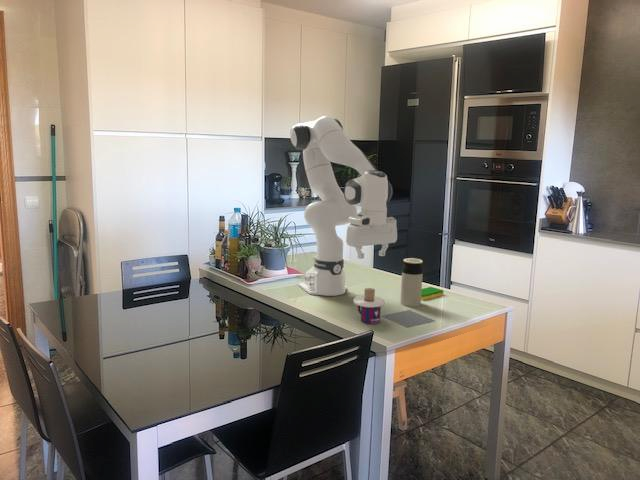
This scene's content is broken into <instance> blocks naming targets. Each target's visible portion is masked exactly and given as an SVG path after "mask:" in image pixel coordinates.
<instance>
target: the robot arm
mask: <svg viewBox="0 0 640 480" xmlns="http://www.w3.org/2000/svg"><path fill="white" fill-rule="evenodd" d="M289 135H290V142H291V144H292V146H293V147H294V148H295V149H296V150H298V151H299V150H302V159H303V165H304V170H305V174H306V177H307V178H306V179H307V182H308V184H309V187H310V190H311V192H312V193H314V195H316V196H318V197H319V198H320V200H318V201H317V200H316V201H314V202H311V203H309V204H308V205H307V206H306V207H305V210H304V213H303V215H304V217H303V218H304V221H305V223H306V224H307V225H308V226H310V228H311V229H312V231H313V233H314V236H315V239H316V240H315V241H316V242H315V243H316V258H313V262H314V263H313V266H312V267H311V268H310V269H308V270H307V271H306V272H305V274H304V279H303V281H301V282H298V286H299V287H300V288H301V289H302V290H304V291H305V292H306V293H308V294H309V295H319V296H328V297H330V296H333V297H334V296H341V295H344V294H345V293H346V290H348V286H347V285H346V272H345V270H344V269H343V268H344V264H345V262H344V258H343V257H344V240H343V239H342V238H341V237H340V236H338V234H337V230H336V227H338V226H345V225H347V224H348V225H347V228H346V239H345V240H346V241H345V242H346V245H348V246H349V247H352V248H355V251H356V253H357V258H358V259H360V260H361V259H365V253H363V252H362V250H363V247H364V246H365V247H366V246H377V245H381V249H380V250H378V256H380V257H385V256H386V252H387V250H388V248H389V244H395V243H396V242H397V240H398V228H397V219H396V218H394V216H387V214H388V208H387V204H388V203H389V202H390V200H391V199H392V197H393V186H392V184H391V183H390V181H389V180H388V176H387V174H386V173H385V172H383V171H381V170H378V169H377V168H376V166H375V165H374V164H373V162H372V161H371V160H370V159H369V157H368V156H367V154H366V153H365V152H363V151H362V149H360V148H359V147H357V145H355V144H354V143H353V142H352V141H351V140H350V139H349V138H348V136H347V134H346V133H345V132H344V128H343V125H342V123H341V122H340V120H339V119H337V118H333V117H332V116H329V115H324V116H321V117H319V118H317V119H314V120H311V121H307V122H300V123H297V124H294V125H293V126H292V127H291V129H290V133H289ZM332 163H335V164H337V165H343V166H345V167H346V166H347V167H349V168H352V169H354V170H356V171H357V172H358V173H359V175H360V176H358V177H355V178H352V179H349V180H348V181H347V182H346V183H345V185H344V188H343V191H342V189H341V188H340V187H339V184H338V183H337V179H336V177H335V174H334V170H333V166H332ZM357 206H361V209H360V211H359V212H358V210H357Z"/></svg>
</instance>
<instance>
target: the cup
mask: <svg viewBox="0 0 640 480" xmlns="http://www.w3.org/2000/svg"><path fill="white" fill-rule="evenodd" d="M381 307H382V306H380V307H362V306H359V305H357V311H358V313H359V315H361V316H360V322H361V323H362V324H366V325H377V324H380V322H381Z"/></svg>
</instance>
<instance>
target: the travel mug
mask: <svg viewBox="0 0 640 480" xmlns="http://www.w3.org/2000/svg"><path fill="white" fill-rule="evenodd" d="M423 262H424V261H423V260H422V259H421V258H415V257H409V258H404V259H403V265H402V267H401V282H400V283H401V285H400V297H399V299H400V305H402V306H405V307H411V308H414V307H420V306H421V304H422V303H421V302H422V300H421V290H422V289H423V275H424V274H423V271H424V268H423V267H422V265H423Z"/></svg>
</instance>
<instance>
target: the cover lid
mask: <svg viewBox="0 0 640 480" xmlns="http://www.w3.org/2000/svg"><path fill="white" fill-rule="evenodd" d="M363 291H364V294H363V295H360V296H355V297H354V298H353V304H355V305H357V306H358V305H359V306H360V307H361V308H362V307H380V306H381V307H383V306H384V305H385V303H386V301H385V299H383V298H381V297H378V296H376V295H375V291H376V290H375V288H371V287H368V288H367V287H366V288H364V290H363Z"/></svg>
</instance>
